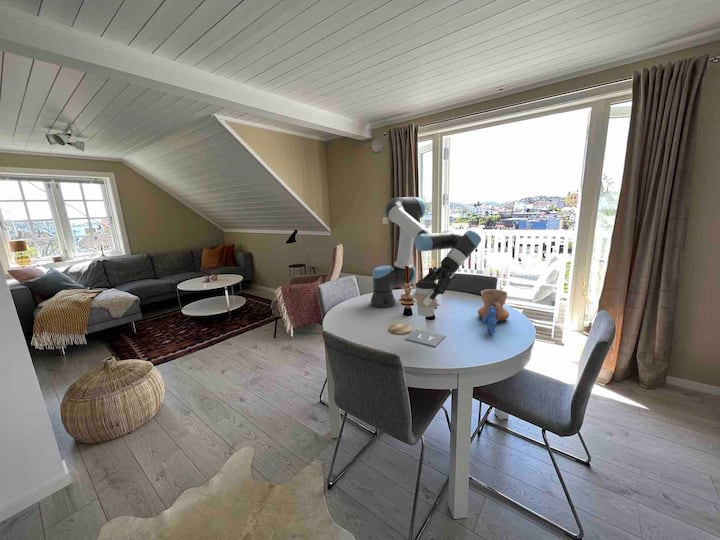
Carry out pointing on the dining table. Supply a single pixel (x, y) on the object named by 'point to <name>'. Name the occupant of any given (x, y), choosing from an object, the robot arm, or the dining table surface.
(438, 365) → the dining table surface
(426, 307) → the coffee cup
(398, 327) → the coaster
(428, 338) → the tile
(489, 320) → the grapes
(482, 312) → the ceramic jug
